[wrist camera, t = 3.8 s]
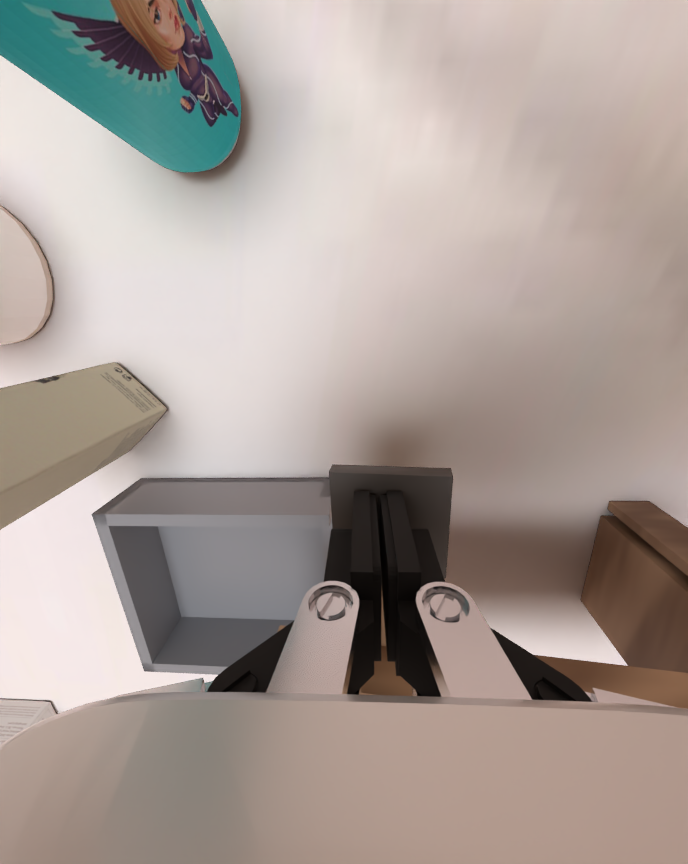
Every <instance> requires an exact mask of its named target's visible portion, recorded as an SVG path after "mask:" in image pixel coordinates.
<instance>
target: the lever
mask: <svg viewBox="0 0 688 864" xmlns="http://www.w3.org/2000/svg"><path fill="white" fill-rule="evenodd" d="M329 481H330V497H331V513H332V529H352V521H353V498H354V491H369V495H375V496H376V509H377V521H378V534H379V546H380V495H386V491H402V492H403V497H404V501H405V505H406V509H407V514H408V518H409V522H410V526H411V529H428V530H429V533H430V536H431V539H432V542H433V545H434V549H435V552H436V555H437V558H438V561H439V564H440V568H441V571H442V574H443V577H444V578H446V567H447V553H448V539H449V525H450V511H451V497H452V483H453V475H452V472H451V468H421V467H390V466H360V465H332V467H331V469H330V471H329ZM284 627H285V626H283V625H280V626H279V629H278V631H280V630H281V629H283V628H284ZM278 631H277V632H278ZM534 656H535V657H537V658H539V659H540V660H542V661H543V662H545V663H546V664H548V665H549V666H551V667H553V668H554V669H556V670H557V671H559V672H560V673H562V674H564V675H565V676H567V677H568V678H570V679H571V680H572V681H573V682H575V683H576V684H577V685H579V686H580V687H581V688H582V689H583V691H584V692H588V693H591V692H592V688H596V689H601V690H605V691H609V692H613V693H618V694H622V695H626V696H630V697H635V698H639V699H643V700H647V701H652V702H656V703H660V704H664V705H669V706H673V707H677V708H685V709H688V673H683V672H674V671H666V670H657V669H649V668H640V667H632V666H623V665H615V664H606V663H598V662H589V661H581V660H572V659H564V658H555V657H547V656H538V655H534ZM361 695H391V696H412V686H411V685H410V684H409V683H407V682H406V681H405V680H404V679H403V678H402V677H401V676H396V669H395V662H388V661H387V650H386V637H385V624H384V610H383V597H382V606H381V661H374V675H373V676H372V677H371V678H370V679H369V680H368V681H367V682H366V683H365V684H364V685H363V686H362V687H361Z"/></svg>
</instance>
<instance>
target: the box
mask: <svg viewBox="0 0 688 864" xmlns="http://www.w3.org/2000/svg"><path fill="white" fill-rule="evenodd" d="M166 410H167V408H166V407H165V406H164V405H163V404H162V403H161V402H160V401H159V400H158V399H157V398H155V397H154V396H153V395H152V394H151V393H150V392H149V391H148V390H147V389H146V388H145V387H143V386H142V385H141V384H140V383H139V382H138V381H137V380H136V379H135V378H133V377H132V376H131V375H130V374H129V373H128V372H127V371H125V370H124V369H123V368H122V367H121V366H120V365H119V364H117V363H115V362H113V363H108V364H104V365H99V366H95V367H91V368H87V369H82V370H78V371H73V372H69V373H65V374H61V375H56V376H52V377H48V378H43V379H39V380H35V381H30V382H26V383H22V384H17V385H13V386H8V387H4V388H0V530H1V529H2V528H4V527H6V526H7V525H9V524H10V523H12V522H14V521H15V520H17V519H19V518H20V517H22V516H24V515H25V514H27V513H29V512H30V511H32V510H33V509H35V508H37V507H38V506H40V505H42V504H43V503H45V502H47V501H48V500H50V499H52V498H53V497H55V496H56V495H58V494H60V493H61V492H63V491H65V490H66V489H68V488H69V487H71V486H73V485H74V484H76V483H78V482H79V481H81V480H83V479H84V478H86V477H88V476H89V475H91V474H93V473H94V472H96V471H98V470H99V469H101V468H102V467H104V466H106V465H107V464H109V463H111V462H112V461H114V460H116V459H117V458H119V457H121V456H122V455H124V454H126V453H127V452H128V451H130V450H131V449H132V448H133V447H134V446H135V445H136V444H137V443H138V442H139V441H140V440H141V439H142V437H143V436H144V435H145V434H146V433H147V432H148V431H149V430H150V429H151V428H152V427H153V426H154V424H155V423H156V422H157V421H158V420H159V419H160V418H161V416H162V415H163V414H164V413H165V412H166Z"/></svg>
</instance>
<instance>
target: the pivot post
mask: <svg viewBox="0 0 688 864" xmlns="http://www.w3.org/2000/svg"><path fill="white" fill-rule="evenodd" d="M608 510H609V511H610V512H611V513H613V514H614V515H615V516H601V518H600V522H599V527H598V531H597V535H596V539H595V543H594V547H593V551H592V555H591V559H590V564H589V568H588V572H587V576H586V580H585V584H584V588H583V592H582V596H581V602H582V603H583V604H584V606H585V607H586V608H587V610H588V611H589V613H590V614H591V615H592V617H593V618H594V619H595V621H596V622H597V623H598V625H599V626H600V628H601V629H602V630H603V632H604V633H605V634H606V636H607V637H608V639H609V640H610V641H611V643H612V644H613V645H614V647H615V648H616V650H617V651H618V652H619V654H620V655H621V656H622V658H623V659H624V661H625V662H626V663H627V665H628V666H632V667H640V668H649V669H657V670H666V671H674V672H683V673H688V528H687V527H686V526H684V525H683V524H681V523H680V522H679V521H677V520H676V519H674V518H673V517H671V516H670V515H668V514H667V513H665V512H664V511H662V510H661V509H659V508H658V507H657V506H655V505H654V504H652V503H651V502H649V501H609V505H608Z"/></svg>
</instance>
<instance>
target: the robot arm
mask: <svg viewBox="0 0 688 864" xmlns="http://www.w3.org/2000/svg"><path fill="white" fill-rule="evenodd" d="M382 597H383V610H384V624H385V637H386V650H387V661H388V662H395V669H396V676H401V677H402V678H403V679H404V680H405V681H406V682H407V683H409V684H410V685H411V686H412V696H391V695H361V687H362V686H363V685H364V684H365V683H366V682H367V681H368V680H369V679H370V678H371V677H372V676H373V675H374V661H381V606H382ZM0 864H688V709H685V708H677V707H673V706H669V705H664V704H660V703H656V702H652V701H647V700H643V699H639V698H635V697H630V696H626V695H622V694H618V693H613V692H609V691H605V690H601V689H596V688H592V692H591V693H588V692H584V691H583V689H582V688H581V687H580V686H579V685H577V684H576V683H575V682H573V681H572V680H571V679H570V678H568V677H567V676H565V675H564V674H562V673H560V672H559V671H557V670H556V669H554V668H553V667H551V666H549V665H548V664H546V663H545V662H543V661H542V660H540V659H539V658H537V657H535V656H534V655H532V654H531V653H529V652H528V651H526V650H524V649H523V648H521V647H520V646H518V645H517V644H515V643H513V642H512V641H510V640H509V639H507V638H506V637H504V636H503V635H501V634H499V633H498V632H496V631H495V630H493V629H492V628H490V627H489V625H488V624H487V622H486V620H485V619H484V617H483V615H482V613H481V612H480V610H479V608H478V607H477V605H476V603H475V602H474V600H473V599H472V597H471V596H470V595H469V594H468V593H467V592H466V591H464V590H463V589H462V588H460V587H458V586H456V585H454V584H451V583H446V582H445V580H444V577H443V574H442V571H441V568H440V564H439V561H438V558H437V555H436V552H435V549H434V545H433V542H432V539H431V536H430V533H429V530H428V529H411V526H410V522H409V518H408V514H407V509H406V505H405V501H404V497H403V492H402V491H386V495H380V546H379V534H378V521H377V509H376V496H375V495H369V491H354V498H353V521H352V529H331V533H330V540H329V547H328V555H327V562H326V569H325V576H324V582H322V583H319V584H317V585H315V586H313V587H312V588H311V589H310V590H309V591H307V593H306V594H305V596H304V598H303V600H302V603H301V605H300V608H299V610H298V613H297V615H296V618H295V620H294V621H293V622H291V623H290V624H288V625H287V626H285V627H284V628H283V629H281V630H280V631H278V632H277V633H276V634H274V635H273V636H271V637H270V638H269V639H267V640H266V641H264V642H263V643H261V644H260V645H259V646H257V647H256V648H254V649H253V650H252V651H250V652H249V653H247V654H246V655H244V656H243V657H242V658H240V659H239V660H237V661H236V662H235V663H233V664H232V665H230V666H229V667H227V668H226V669H225V670H224V671H222V672H221V673H220V674H219V675H218V676H217V677H216V678H215V679H214V681H212V682H207V683H204V680H203V678H200V679H195V680H191V681H186V682H181V683H176V684H171V685H167V686H162V687H157V688H152V689H147V690H143V691H138V692H133V693H128V694H123V695H119V696H116V697H113V698H110V699H105V700H101V701H96V702H92V703H88V704H85V705H82V706H79V707H76V708H73V709H70V710H67V711H65V712H62V713H59V714H56V715H53V716H51V717H49V718H47V719H44V720H42V721H40V722H38V723H36V724H34V725H32V726H30V727H28V728H26V729H24V730H22V731H20V732H19V733H17V734H16V735H14V736H13V737H11V738H9V739H8V740H6V741H5V742H3V743H2V744H1V745H0Z"/></svg>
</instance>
